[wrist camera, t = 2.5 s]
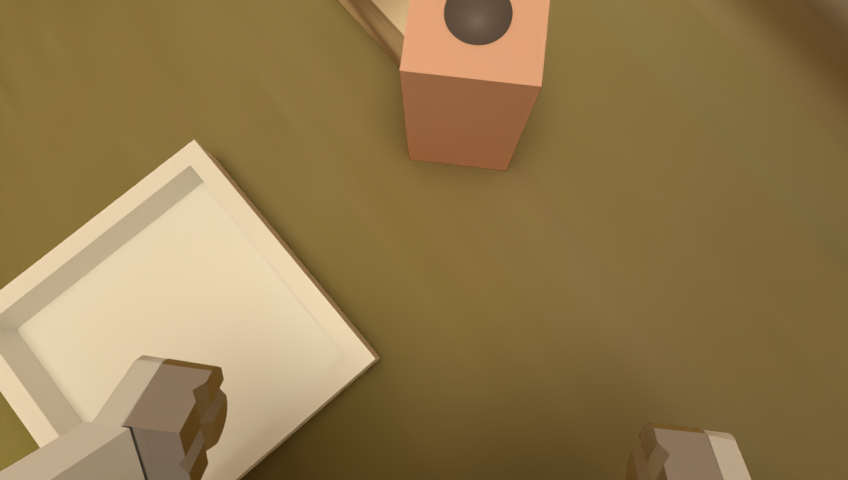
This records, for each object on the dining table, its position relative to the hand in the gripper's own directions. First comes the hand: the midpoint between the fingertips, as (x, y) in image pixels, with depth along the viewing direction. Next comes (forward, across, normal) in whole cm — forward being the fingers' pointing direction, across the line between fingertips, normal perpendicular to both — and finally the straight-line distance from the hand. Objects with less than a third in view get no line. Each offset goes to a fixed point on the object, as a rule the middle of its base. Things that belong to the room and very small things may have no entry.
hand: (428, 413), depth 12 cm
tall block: (+19, 0, +2) cm, 19 cm away
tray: (+10, +11, +10) cm, 18 cm away
